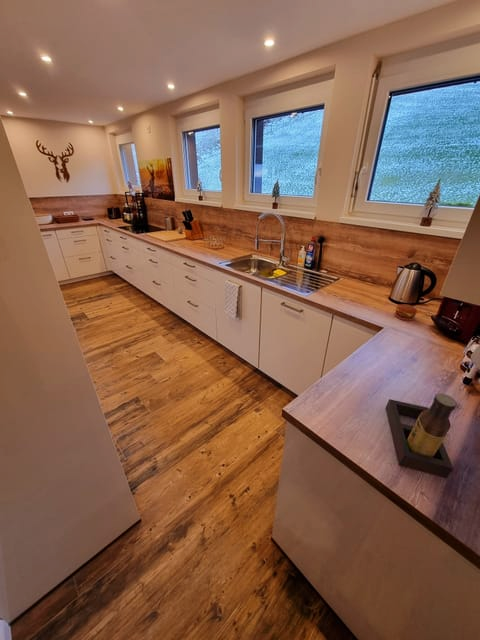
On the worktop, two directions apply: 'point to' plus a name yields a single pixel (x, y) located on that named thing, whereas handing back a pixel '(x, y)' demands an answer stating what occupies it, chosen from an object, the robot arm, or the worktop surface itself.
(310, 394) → the worktop surface
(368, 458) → the worktop surface
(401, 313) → the hamburger
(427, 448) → the sauce bottle
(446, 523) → the worktop surface
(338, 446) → the worktop surface
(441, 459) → the caddy
